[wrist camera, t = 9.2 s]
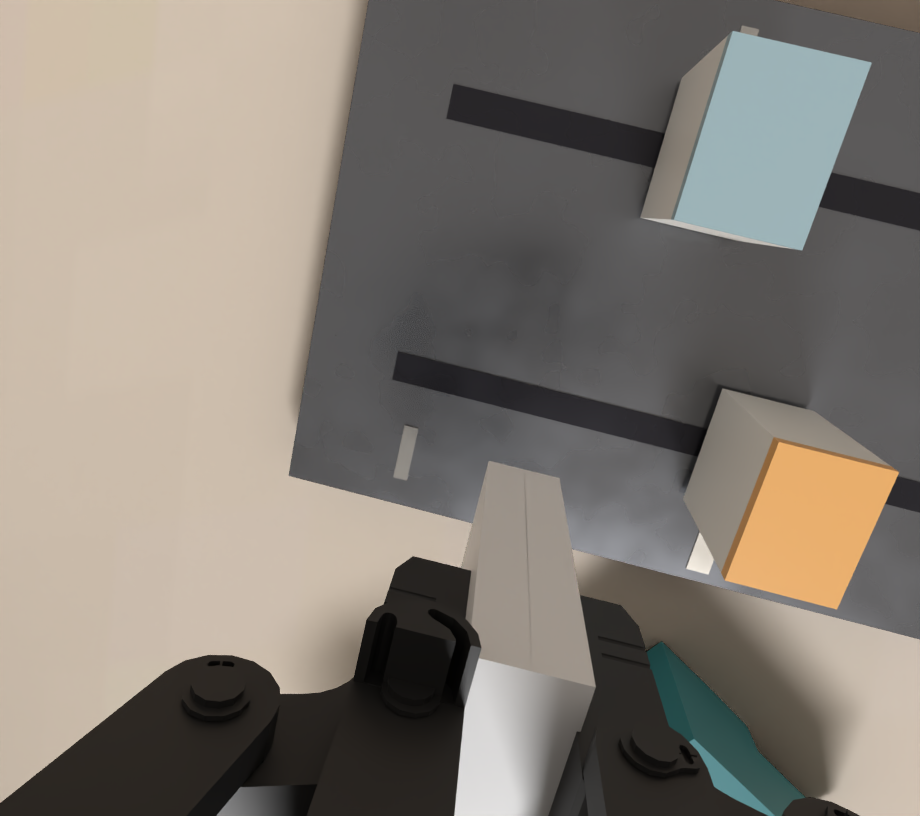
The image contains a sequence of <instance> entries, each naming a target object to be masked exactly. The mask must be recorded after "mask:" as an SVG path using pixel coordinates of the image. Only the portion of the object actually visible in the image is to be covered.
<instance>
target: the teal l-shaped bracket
mask: <svg viewBox="0 0 920 816" xmlns="http://www.w3.org/2000/svg"><path fill="white" fill-rule="evenodd" d="M647 656H648V659H649V662H650V669H651V670H652V672H653V675H654V679H655V682H656V685H657V688H658V692H659V695H660V698H661V702H662V705H663V708H664V711H665V715H666V718H667V721H668V725H669V727H671V728H672V729H674V730H675V731H677V732H678V733H680V734H681V735H683V736H684V737H685V738H686V739H687V740H688V741H689V742H690V744H691V745H692V746H693V747H694V748H695V749H696V750H697V751H698V752H699V754H700V756H701V757H702V759H703V761H704V763H705V764H706V766H707V768H708V771H709V773H710V776H711V779H712V782H713V785H714V787H715V788H717V789H718V790H720V791H722V792H723V793H725V794H727V795H729V796H730V797H732V798H734V799H736V800H738V801H740V802H742V803H744V804H746V805H748V806H750V807H752V808H754V809H756V810H758V811H760V812H762V813H764V814H766V815H768V816H782V814H783V812H784V810H785V809H786V808H787V806H788V805H789V804H790V803H791V802H792V801H793V800H795V799H801V798H806V797H804V796H803V795H802V794H801V793H800V792H799V791H798V790H797V789H796V788H795V787H794V786H793V785H792V784H791V783H790V782H789V781H788V780H787V779H786V778H785V777H784V776H783V775H782V774H781V773H780V772H779V771H778V770H777V769H776V768H775V767H774V766H773V765H772V764H771V763H770V762H768V761H767V760H766V759H765V758H764V757H763V756H762V755H761V754H760V753H759V752H758V750H757V748H756V746H755V743H754V741H753V739H752V736H751V734H750V732H749V730H748V727H747V726H746V725H745V724H744V723H743V722H742V721H741V720H740V719H739V718H738V717H737V716H736V715H735V714H734V713H733V712H732V711H731V710H730V709H729V708H728V706H727V705H726V704H725V703H724V702H723V701H722V700H721V699H720V698H719V697H718V696H717V695H716V694H715V693H714V692H713V691H712V690H711V689H710V688H709V687H708V686H707V685H706V684H705V683H704V682H703V681H702V680H701V679H700V678H699V677H698V676H697V675H696V674H695V673H694V672H693V671H692V670H690V669H689V668H688V667H687V666H686V665H685V664H684V663H683V662H682V661H681V660H680V659H679V658H678V657H677V656H676V655H675V654H674V653H673V652H672V651H671V650H670V649H669V648H668V647H667V646H666V645H665V644H664V643H663V642H662V641H661V642H660V643H658V644H657V645H655V646H654V647H653V648H651V649H650V650H648V651H647Z"/></svg>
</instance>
